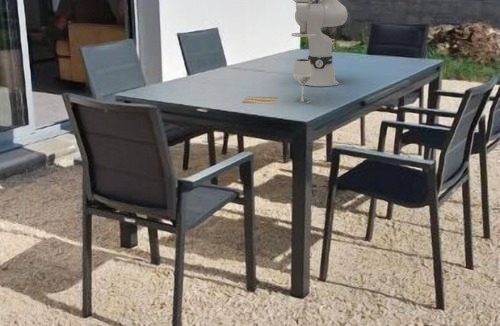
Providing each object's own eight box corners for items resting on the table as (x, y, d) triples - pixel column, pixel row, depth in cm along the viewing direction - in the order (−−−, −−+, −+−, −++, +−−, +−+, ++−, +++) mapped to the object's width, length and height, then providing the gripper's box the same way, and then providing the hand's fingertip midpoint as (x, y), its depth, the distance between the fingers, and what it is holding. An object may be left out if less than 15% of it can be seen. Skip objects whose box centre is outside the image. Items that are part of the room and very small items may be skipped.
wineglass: (291, 100, 279) (292, 58, 274) (310, 100, 279) (311, 58, 274) (294, 104, 271) (294, 61, 266) (313, 103, 271) (314, 61, 266)
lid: (292, 34, 273) (292, 23, 271) (316, 34, 271) (316, 23, 270) (290, 36, 263) (290, 24, 262) (315, 37, 262) (315, 25, 260)
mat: (247, 97, 285) (247, 96, 285) (278, 98, 283) (278, 97, 282) (241, 104, 272) (241, 102, 272) (274, 105, 269) (274, 103, 269)
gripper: (299, -5, 273) (298, 29, 277) (293, -3, 254) (293, 33, 258) (314, -4, 272) (313, 29, 276) (309, -3, 253) (309, 33, 257)
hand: (303, 31), depth 267 cm, fingers closed on lid, 3 cm apart
